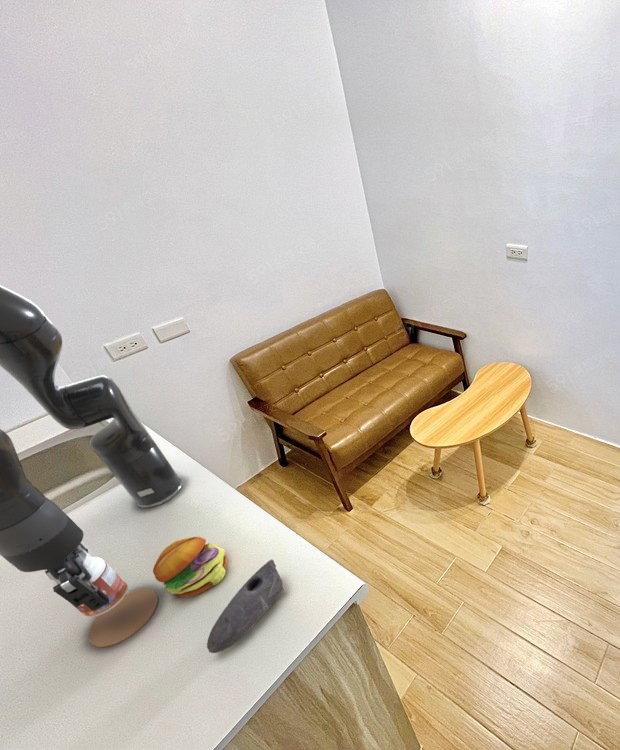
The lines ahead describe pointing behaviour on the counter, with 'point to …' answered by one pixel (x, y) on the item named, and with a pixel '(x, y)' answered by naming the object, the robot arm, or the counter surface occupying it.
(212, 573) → the cheeseburger
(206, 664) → the counter surface
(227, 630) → the perforated stone tool
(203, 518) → the counter surface
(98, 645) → the coaster
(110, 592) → the pill bottle
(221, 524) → the counter surface
